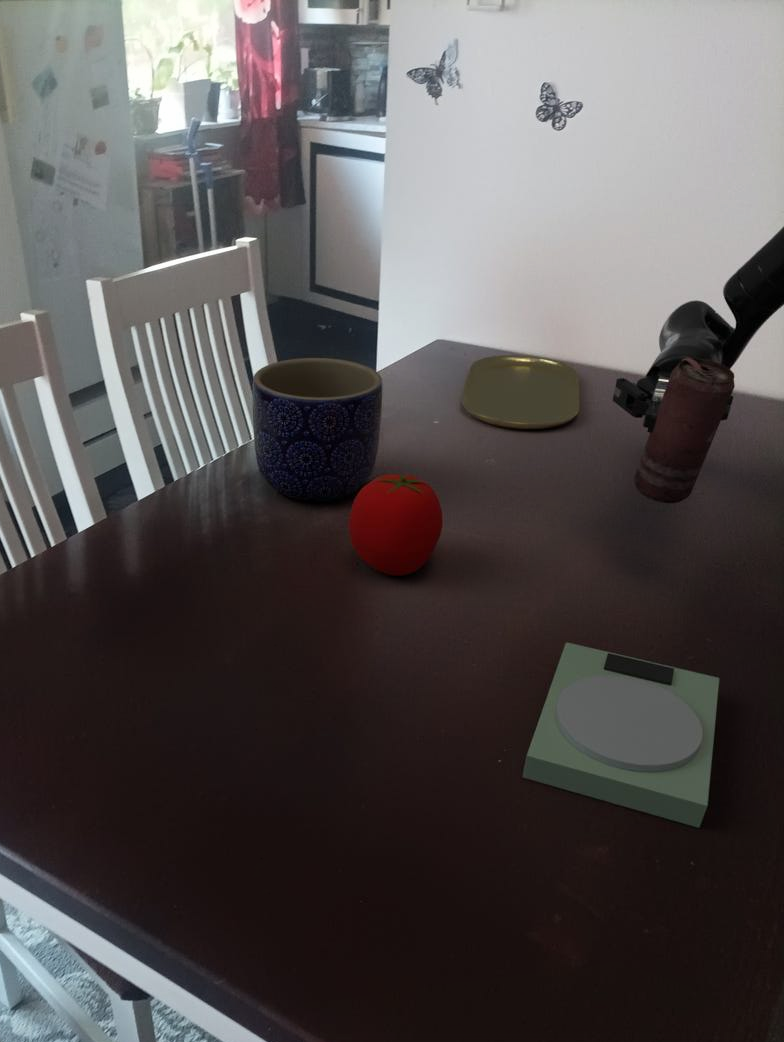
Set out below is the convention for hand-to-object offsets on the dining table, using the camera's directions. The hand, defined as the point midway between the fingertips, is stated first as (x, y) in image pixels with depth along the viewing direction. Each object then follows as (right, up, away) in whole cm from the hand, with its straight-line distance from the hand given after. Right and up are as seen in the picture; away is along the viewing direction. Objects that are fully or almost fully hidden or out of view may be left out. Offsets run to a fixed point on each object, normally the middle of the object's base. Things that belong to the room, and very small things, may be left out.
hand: (657, 424), depth 94 cm
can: (+2, -6, +5) cm, 8 cm away
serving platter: (0, +19, +59) cm, 62 cm away
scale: (-9, -31, -14) cm, 35 cm away
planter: (-35, -2, +28) cm, 45 cm away
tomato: (-27, -14, +11) cm, 32 cm away
